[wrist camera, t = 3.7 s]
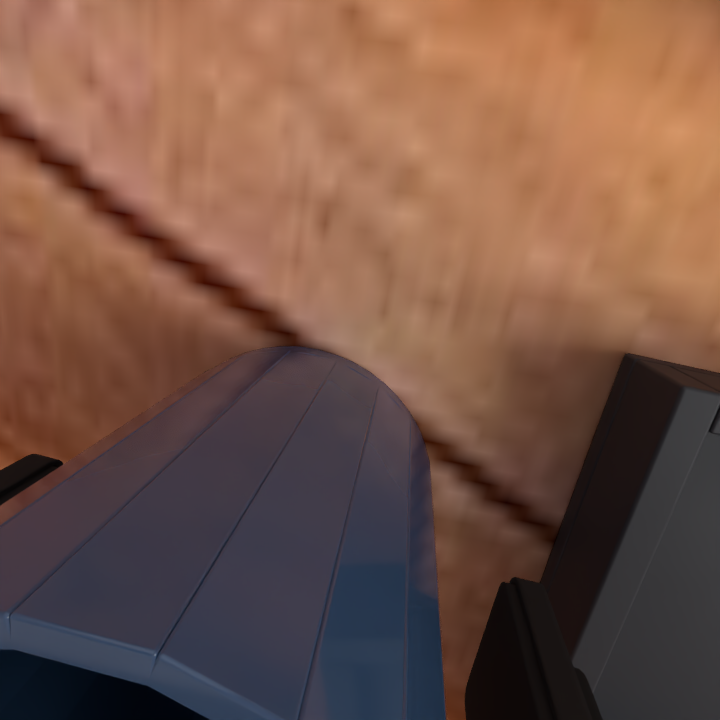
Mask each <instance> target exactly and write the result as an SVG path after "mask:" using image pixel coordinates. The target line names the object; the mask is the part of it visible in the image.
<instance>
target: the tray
mask: <svg viewBox="0 0 720 720" xmlns="http://www.w3.org/2000/svg"><path fill="white" fill-rule="evenodd" d="M540 584H542V585H544V587H545V589H546V592H547V595H548V597H549V600H550V603H551V606H552V608H553V611H554V614H555V617H556V620H557V622H558V625H559V628H560V631H561V633H562V636H563V639H564V642H565V645H566V647H567V650H568V653H569V656H570V658H571V661H572V664H573V667H575V668H579V669H580V670H581V671H582V672H583V673H584V674H585V676H586V678H587V680H588V682H589V685H590V687H591V690H592V693H593V695H594V698H595V700H596V703H597V706H598V708H599V711H600V714H601V716H602V719H603V720H720V373H716V372H712V371H707V370H703V369H698V368H693V367H689V366H684V365H680V364H675V363H671V362H666V361H661V360H657V359H652V358H648V357H643V356H638V355H634V354H629V353H627V354H625V355H624V357H623V360H622V363H621V365H620V368H619V371H618V373H617V376H616V379H615V382H614V384H613V387H612V390H611V392H610V395H609V398H608V401H607V403H606V406H605V409H604V411H603V414H602V417H601V420H600V422H599V425H598V428H597V430H596V433H595V436H594V438H593V441H592V444H591V447H590V449H589V452H588V455H587V457H586V460H585V463H584V466H583V468H582V471H581V474H580V476H579V479H578V482H577V484H576V487H575V490H574V493H573V495H572V498H571V501H570V503H569V506H568V509H567V512H566V514H565V517H564V520H563V522H562V525H561V528H560V531H559V533H558V536H557V539H556V541H555V544H554V547H553V549H552V552H551V555H550V558H549V560H548V563H547V566H546V568H545V571H544V574H543V577H542V579H541V582H540Z"/></svg>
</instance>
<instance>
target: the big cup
mask: <svg viewBox="0 0 720 720" xmlns="http://www.w3.org/2000/svg"><path fill="white" fill-rule="evenodd" d="M0 720H448V719H447V704H446V689H445V674H444V660H443V645H442V630H441V615H440V600H439V586H438V571H437V556H436V541H435V526H434V512H433V498H432V486H431V474H430V462H429V458H428V454H427V450H426V446H425V442H424V440H423V438H422V435H421V433H420V430H419V428H418V426H417V424H416V422H415V421H414V419H413V417H412V415H411V414H410V412H409V410H408V409H407V408H406V407H405V405H404V404H403V403H402V401H401V400H400V399H399V397H398V396H397V395H396V394H395V393H394V392H393V391H392V390H391V389H390V388H389V387H388V386H387V385H386V384H385V383H383V382H382V381H381V380H379V379H378V378H377V377H376V376H374V375H373V374H372V373H371V372H369V371H367V370H365V369H364V368H362V367H360V366H359V365H357V364H355V363H354V362H351V361H349V360H347V359H344V358H342V357H340V356H338V355H335V354H331V353H328V352H324V351H321V350H317V349H311V348H304V347H290V346H279V347H269V348H261V349H257V350H253V351H249V352H245V353H243V354H240V355H238V356H235V357H233V358H230V359H228V360H226V361H225V362H223V363H221V364H219V365H218V366H216V367H214V368H212V369H210V370H207V371H205V372H204V373H202V374H201V375H199V376H198V377H196V378H195V379H193V380H192V381H190V382H188V383H187V384H185V385H184V386H182V387H181V388H179V389H178V390H176V391H175V392H173V393H172V394H170V395H169V396H167V397H166V398H164V399H162V400H161V401H159V402H158V403H156V404H155V405H153V406H152V407H150V408H149V409H147V410H146V411H144V412H143V413H141V414H140V415H138V416H137V417H135V418H133V419H132V420H130V421H129V422H127V423H126V424H124V425H123V426H121V427H120V428H118V429H117V430H115V431H114V432H112V433H111V434H109V435H108V436H106V437H104V438H103V439H101V440H100V441H98V442H97V443H95V444H94V445H92V446H91V447H89V448H88V449H86V450H85V451H83V452H82V453H80V454H79V455H77V456H75V457H74V458H72V459H71V460H69V461H68V462H66V463H65V464H63V465H62V466H60V467H59V468H57V469H56V470H54V471H53V472H51V473H49V474H48V475H46V476H45V477H43V478H42V479H40V480H39V481H37V482H36V483H34V484H33V485H31V486H30V487H28V488H27V489H25V490H24V491H22V492H20V493H19V494H17V495H16V496H14V497H13V498H11V499H10V500H8V501H7V502H5V503H4V504H2V505H1V506H0Z"/></svg>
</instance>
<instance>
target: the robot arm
mask: <svg viewBox="0 0 720 720" xmlns="http://www.w3.org/2000/svg"><path fill="white" fill-rule="evenodd" d="M62 465H63V463H62V462H61V461H60V460H57V459H53V458H49V457H45V456H41V455H37V454H31V455H28V456H26V457H24V458H22V459H21V460H19V461H17V462H15V463H13V464H11V465H10V466H8V467H6V468H4V469H2V470H0V506H1V505H2V504H4V503H5V502H7V501H8V500H10V499H11V498H13V497H14V496H16V495H17V494H19V493H20V492H22V491H24V490H25V489H27V488H28V487H30V486H31V485H33V484H34V483H36V482H37V481H39V480H40V479H42V478H43V477H45V476H46V475H48V474H49V473H51V472H53V471H54V470H56V469H57V468H59V467H60V466H62ZM465 712H466V720H603V719H602V716H601V714H600V711H599V708H598V706H597V703H596V700H595V698H594V695H593V693H592V690H591V687H590V685H589V682H588V680H587V678H586V676H585V674H584V673H583V672H582V671H581V670H580V669H579V668H575V667H573V664H572V661H571V658H570V656H569V653H568V650H567V647H566V645H565V642H564V639H563V636H562V633H561V631H560V628H559V625H558V622H557V620H556V617H555V614H554V611H553V608H552V606H551V603H550V600H549V597H548V595H547V592H546V589H545V587H544V585H542V584H540V583H536V582H532V581H528V580H524V579H520V578H517V577H513V578H512V579H511V581H510V583H505V582H502V583H501V584H500V587H499V589H498V592H497V595H496V598H495V601H494V604H493V607H492V610H491V613H490V616H489V619H488V622H487V625H486V628H485V631H484V634H483V637H482V640H481V643H480V646H479V649H478V652H477V655H476V658H475V661H474V664H473V667H472V670H471V673H470V676H469V679H468V682H467V686H466V691H465Z"/></svg>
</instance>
